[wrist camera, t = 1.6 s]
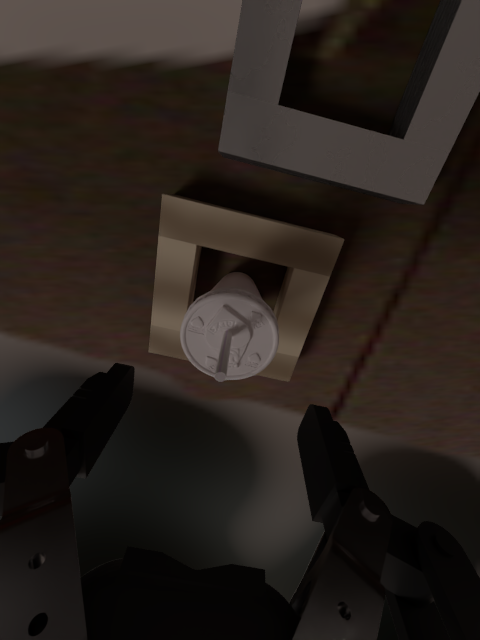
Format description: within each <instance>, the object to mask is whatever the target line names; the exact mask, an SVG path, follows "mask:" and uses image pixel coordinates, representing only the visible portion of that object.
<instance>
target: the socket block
mask: <svg viewBox="0 0 480 640" xmlns="http://www.w3.org/2000/svg"><path fill="white" fill-rule="evenodd" d="M344 240H345V239H343V238H341V237H338V236H336V235H334V234H331V233H327V232H323V231H319V230H315V229H311V228H307V227H303V226H299V225H295V224H291V223H287V222H283V221H278V220H274V219H270V218H266V217H262V216H258V215H254V214H250V213H246V212H242V211H238V210H234V209H230V208H226V207H222V206H218V205H214V204H210V203H206V202H202V201H198V200H194V199H190V198H186V197H182V196H178V195H174V194H162V204H161V215H160V227H159V238H158V250H157V261H156V273H155V284H154V296H153V307H152V319H151V330H150V342H149V352H151V353H156V354H160V355H165V356H170V357H175V358H179V359H184V360H189V359H188V358H187V356H186V355H185V353H184V351H183V348H182V345H181V341H180V329H181V324H182V322H183V319H184V316H185V314H186V312H187V310H188V308H189V307H190V305H191V304H192V303H193V299H194V293H195V287H196V280H197V274H198V268H199V262H200V255H201V249H202V246H204V247H208V248H212V249H216V250H221V251H225V252H229V253H233V254H237V255H241V256H246V257H250V258H254V259H258V260H262V261H267V262H271V263H275V264H279V265H283V266H287V270H286V273H285V276H284V279H283V283H282V286H281V289H280V292H279V296H278V299H277V302H276V305H275V308H274V312H273V313H274V315H275V317H276V318H277V323H278V327H279V345H278V349H277V352H276V354H275V356H274V358H273V360H272V361H271V362H270V364H269V365H268V366H267V367H266V368H265V369H263V370H262V371H261V372H259V373H257V374H255V375H260V376H264V377H269V378H274V379H278V380H283V381H288V382H289V380H290V378H291V375H292V373H293V370H294V368H295V365H296V362H297V360H298V357H299V355H300V352H301V350H302V347H303V345H304V342H305V339H306V337H307V334H308V332H309V329H310V327H311V324H312V322H313V319H314V316H315V314H316V311H317V309H318V306H319V304H320V301H321V299H322V296H323V293H324V291H325V288H326V286H327V283H328V281H329V278H330V275H331V273H332V270H333V268H334V265H335V263H336V260H337V258H338V255H339V252H340V250H341V247H342V245H343V242H344Z"/></svg>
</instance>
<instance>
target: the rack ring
mask: <svg viewBox="0 0 480 640" xmlns="http://www.w3.org/2000/svg"><path fill="white" fill-rule="evenodd" d="M301 3H302V0H242V7H241V13H240V19H239V26H238V32H237V38H236V44H235V50H234V56H233V62H232V69H231V75H230V81H229V87H228V93H227V100H226V106H225V112H224V118H223V124H222V131H221V137H220V143H219V149H218V151H219V153H220V154H221V155H222V157H225V158H228V159H232V160H236V161H240V162H244V163H248V164H251V165H255V166H259V167H263V168H267V169H271V170H274V171H278V172H282V173H286V174H290V175H294V176H297V177H301V178H305V179H309V180H313V181H317V182H320V183H324V184H328V185H332V186H336V187H340V188H343V189H347V190H351V191H355V192H359V193H363V194H366V195H370V196H374V197H378V198H382V199H386V200H389V201H393V202H397V203H401V204H417V205H424V203H425V201H426V199H427V197H428V195H429V193H430V191H431V189H432V187H433V185H434V183H435V181H436V179H437V177H438V175H439V173H440V171H441V169H442V167H443V165H444V163H445V161H446V159H447V157H448V155H449V153H450V151H451V149H452V147H453V145H454V143H455V140H456V138H457V136H458V134H459V132H460V130H461V128H462V126H463V124H464V122H465V120H466V118H467V116H468V114H469V112H470V110H471V108H472V106H473V104H474V102H475V100H476V98H477V96H478V94H479V92H480V0H441V1H440V3H439V6H438V8H437V11H436V13H435V16H434V18H433V21H432V24H431V26H430V29H429V31H428V34H427V36H426V39H425V41H424V44H423V46H422V49H421V51H420V54H419V57H418V59H417V62H416V64H415V67H414V69H413V72H412V74H411V77H410V79H409V82H408V84H407V87H406V90H405V92H404V95H403V97H402V100H401V102H400V105H399V107H398V110H397V112H396V115H395V117H394V120H393V123H392V125H391V128H390V130H389V133H388V135H385V134H381V133H378V132H374V131H371V130H367V129H363V128H360V127H356V126H353V125H349V124H345V123H342V122H338V121H334V120H331V119H327V118H324V117H320V116H316V115H313V114H309V113H306V112H302V111H298V110H295V109H291V108H287V107H284V106H280V105H278V103H279V98H280V94H281V90H282V85H283V81H284V77H285V72H286V68H287V64H288V59H289V55H290V51H291V46H292V42H293V38H294V33H295V29H296V25H297V20H298V16H299V12H300V7H301Z"/></svg>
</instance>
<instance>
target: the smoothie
mask: <svg viewBox="0 0 480 640" xmlns="http://www.w3.org/2000/svg"><path fill="white" fill-rule="evenodd" d="M180 341H181V345H182V348H183V351H184V353H185V355H186V356H187V358H188V359H189V361H190V362H191V363H192V364H193V365H194V366H195V367H196V368H198V369H199V370H200V371H202V372H204V373H205V374H207V375H210V376H212V377H215V379H216V380H217V381H219V382H222V381H224V380H238V379H244V378H248V377H251V376H253V375H255V374H257V373H259V372H261V371H262V370H263V369H265V368H266V367H267V366H268V365H269V364H270V362H271V361H272V360H273V358H274V356H275V354H276V352H277V349H278V345H279V327H278V323H277V318H276V317H275V315H274V313H273V311H272V309H271V308H270V307H269V306H268V305H267V304H266V303H265V302H264V301H263V300H262V298H261V296H260V293H259V291H258V289H257V287H256V285H255V283H254V281H253V280H252V278H251V277H250V276H248V275H247V274H245V273H242V272H232V273H229V274H227V275H225V276H224V277H223V278H222V279H221V280H220V281H219V282H218V283H217V284H216V286H215V287H214V288H213V289H212V290H211V291H209V292H207V293H206V294H204V295H202V296H200V297H198V298H197V299H196V300H195V301H194V302H193V303H192V304H191V305H190V307H189V308H188V310H187V312H186V314H185V316H184V319H183V322H182V324H181V329H180Z"/></svg>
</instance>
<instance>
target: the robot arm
mask: <svg viewBox="0 0 480 640" xmlns="http://www.w3.org/2000/svg"><path fill="white" fill-rule="evenodd" d="M133 385H134V367H133V366H129V365H124V364H120V363H115V364H114V365H113V366H112V367H111V369H110V370H109V371H108V372H107V373H103V372H99V373H97V374H95V375H93V376H92V377H90V378H88V379H87V380H86V381H85V382H84V383H83V385H82V386H81V387H80V389H78V390H77V391H76V392H75V393H74V394H73V396H72V397H71V398H70V399H69V400H68V401H67V402H66V403H65V404H64V405H63V406H62V407H61V409H59V411H58V412H57V413H56V414H55V415H54V416H53V417H52V418H51V419H50V420H49V422H48V423H47V424H46V425H45V426H44V427H43V428H39V429H35V430H32V431H29V432H27V433H25V434H23V435H22V436H20V437H19V438H17V440H15V441H14V442H8V443H0V516H2V519H1V520H0V640H377V634H378V630H379V625H380V620H381V615H382V610H383V604H384V599H385V595H386V598H387V602H388V605H389V608H390V612H391V615H392V618H393V622H394V625H395V628H396V632H397V635H398V638H399V640H450V639H451V640H480V578H479V576H478V575H477V573H476V571H475V569H474V568H473V566H472V564H471V562H470V560H469V559H468V557H467V555H466V553H465V552H464V550H463V548H462V547H461V545H460V544H459V543H458V542H457V540H456V539H455V538H454V537H453V536H452V535H451V534H450V533H449V532H448V531H446V530H445V529H444V528H442V527H441V526H439V525H437V524H435V523H433V522H428V521H426V522H425V521H424V522H422V523H421V524H420V525H419V526H418V527H417V528H416V527H414V526H412V525H410V524H408V523H406V522H405V521H403V520H401V519H399V518H397V517H395V516H393V515H392V514H391V513H390V511H389V509H388V507H387V506H386V505H385V503H384V502H383V501H382V500H381V499H380V498H379V497H378V496H377V495H376V494H375V493H373V492H372V491H370V490H369V488H368V485H367V483H366V480H365V478H364V476H363V473H362V471H361V468H360V466H359V463H358V461H357V458H356V456H355V454H354V451H353V448H352V446H351V445H350V441H349V439H348V436H347V434H346V432H345V430H344V429H343V428H342V427H341V425H340V424H339V423H338V422H337V421H333V419H332V417H331V414H330V411H329V409H328V408H327V407H322V406H317V405H312V404H311V405H309V407H308V409H307V411H306V413H305V415H304V418H303V420H302V422H301V424H300V426H299V429H298V435H297V441H298V447H299V452H300V458H301V463H302V468H303V474H304V479H305V484H306V489H307V495H308V500H309V505H310V511H311V516H312V521H315V522H321V523H323V525H324V529H325V532H324V533H323V535H322V537H321V539H320V541H319V543H318V545H317V548H316V550H315V552H314V554H313V556H312V558H311V561H310V563H309V565H308V567H307V569H306V571H305V574H304V576H303V578H302V580H301V582H300V584H299V586H298V588H297V590H296V591H295V593H294V595H293V597H292V599H291V600H290V602H289V603H288V601H287V600H286V599H285V598H284V597H283V596H282V595H281V594H280V593H279V592H278V591H277V590H275V589H274V588H273V587H271V586H270V585H268V584H267V583H265V570H263V569H257V568H252V567H245V566H239V565H234V564H230V565H225V566H219V567H213V568H208V569H202V570H194V569H192V568H190V567H188V566H186V565H184V564H182V563H181V562H179V561H177V560H175V559H173V558H172V557H170V556H168V555H166V554H164V553H162V552H157V551H151V550H145V549H139V548H134V547H127V550H126V553H125V555H124V558H122V559H117V560H113V561H110V562H107V563H105V564H103V565H100V566H98V567H96V568H94V569H93V570H91V571H89V572H88V573H86V574H85V575H84V576H82V577H81V578H80V571H79V561H78V553H77V544H76V536H75V528H74V518H73V511H72V501H71V494H70V488H69V487H70V485H71V484H72V482H73V480H74V479H75V477H80V478H87V476H88V474H89V473H90V471H91V469H92V468H93V466H94V464H95V463H96V461H97V459H98V458H99V456H100V454H101V452H102V451H103V449H104V448H105V446H106V444H107V443H108V441H109V439H110V437H111V436H112V434H113V432H114V431H115V429H116V427H117V426H118V424H119V422H120V421H121V419H122V417H123V416H124V414H125V412H126V411H127V409H128V407H129V405H130V403H131V400H132V396H133ZM434 600H435V603H436V605H437V607H438V610H439V612H440V615H441V617H442V619H443V622H444V624H445V626H446V629H447V631H448V634H449V636H450V639H449V637H448V634H447V632H446V630H445V627H444V625H443V622H442V620H441V617H440V615H439V613H438V611H437V608H436V605H435V603H434Z"/></svg>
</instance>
